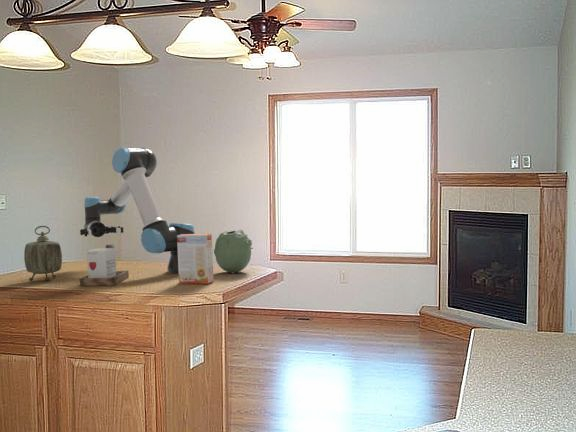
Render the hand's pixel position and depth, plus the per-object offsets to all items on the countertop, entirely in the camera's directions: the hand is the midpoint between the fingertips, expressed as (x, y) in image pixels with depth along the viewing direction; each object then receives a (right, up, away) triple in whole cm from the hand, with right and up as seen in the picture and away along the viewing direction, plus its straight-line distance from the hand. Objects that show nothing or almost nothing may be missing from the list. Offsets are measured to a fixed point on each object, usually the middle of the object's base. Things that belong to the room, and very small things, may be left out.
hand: (105, 232), depth 315 cm
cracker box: (+46, -21, -28) cm, 58 cm away
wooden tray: (+5, -21, -17) cm, 28 cm away
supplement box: (+5, -22, -21) cm, 31 cm away
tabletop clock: (-25, -22, -9) cm, 34 cm away
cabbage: (+60, -19, -1) cm, 63 cm away
